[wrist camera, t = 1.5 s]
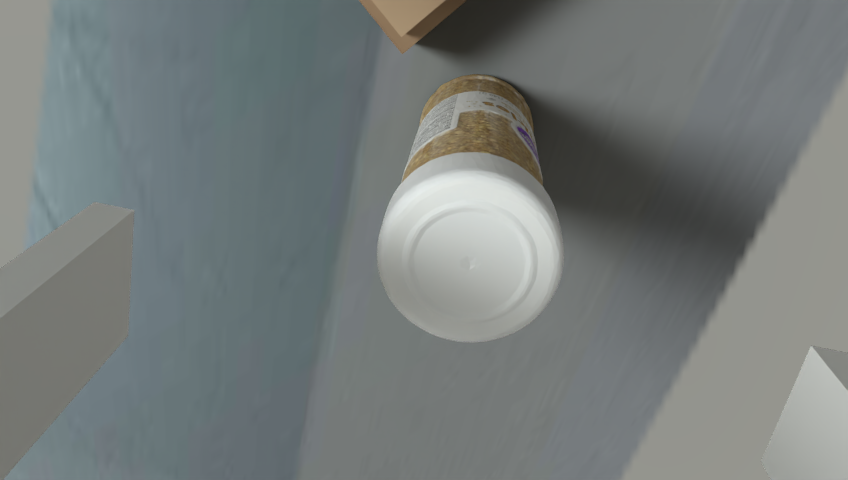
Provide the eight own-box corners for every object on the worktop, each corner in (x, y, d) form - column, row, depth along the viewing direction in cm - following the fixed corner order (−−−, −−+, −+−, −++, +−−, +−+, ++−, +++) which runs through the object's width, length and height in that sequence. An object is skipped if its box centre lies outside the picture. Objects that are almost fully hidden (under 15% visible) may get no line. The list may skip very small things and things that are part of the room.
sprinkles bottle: (556, 130, 31) (607, 269, 18) (472, 205, 32) (467, 382, 20) (476, 45, 30) (472, 132, 17) (393, 127, 31) (334, 261, 19)
